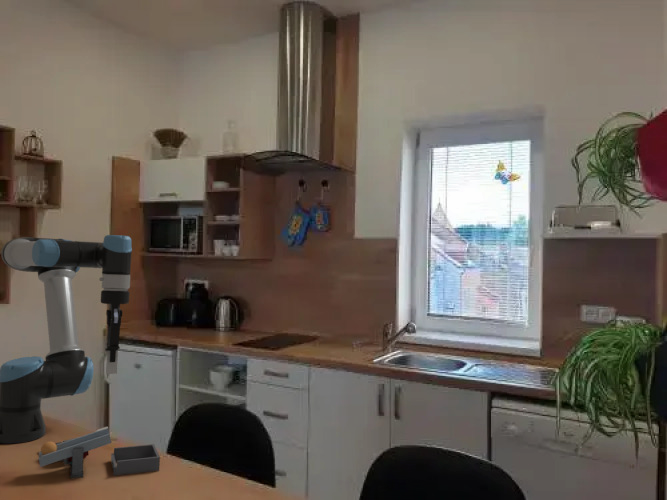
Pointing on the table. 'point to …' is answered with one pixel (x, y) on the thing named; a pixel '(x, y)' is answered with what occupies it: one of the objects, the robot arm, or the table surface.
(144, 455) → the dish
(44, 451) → the ball
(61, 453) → the rimmed blue-grey trough
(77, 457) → the stand
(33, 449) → the table surface
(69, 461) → the toy
